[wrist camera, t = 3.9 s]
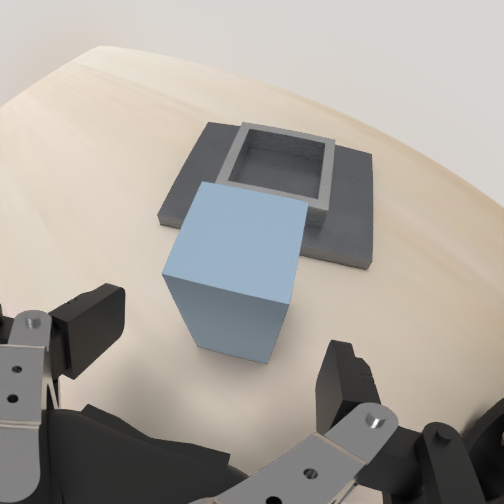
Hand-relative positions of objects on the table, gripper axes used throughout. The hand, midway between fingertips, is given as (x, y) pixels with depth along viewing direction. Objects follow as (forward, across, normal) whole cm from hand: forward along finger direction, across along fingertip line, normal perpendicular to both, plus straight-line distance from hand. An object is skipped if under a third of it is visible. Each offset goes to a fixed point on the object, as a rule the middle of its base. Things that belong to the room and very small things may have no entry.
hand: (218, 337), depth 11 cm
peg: (+8, 0, +3) cm, 9 cm away
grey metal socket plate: (+17, 0, -5) cm, 18 cm away
